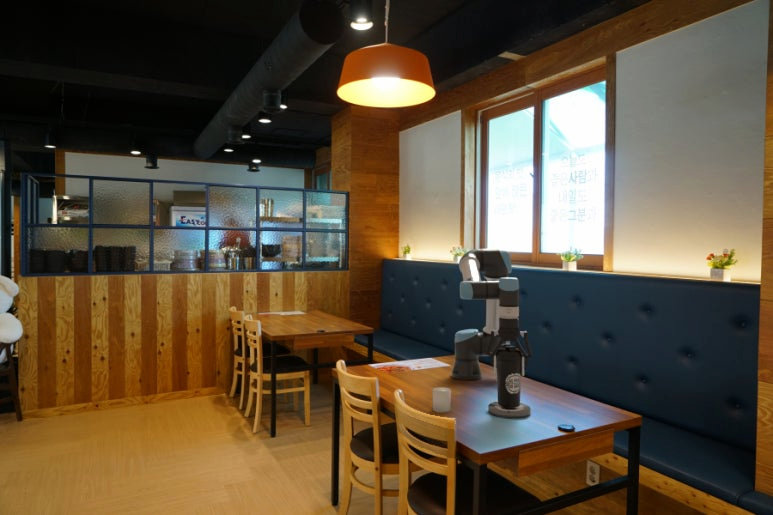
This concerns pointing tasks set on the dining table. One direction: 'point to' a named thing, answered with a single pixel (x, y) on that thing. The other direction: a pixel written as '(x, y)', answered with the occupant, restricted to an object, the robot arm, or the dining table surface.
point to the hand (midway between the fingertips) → (509, 374)
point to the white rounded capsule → (441, 399)
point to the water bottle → (508, 375)
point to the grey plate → (509, 411)
